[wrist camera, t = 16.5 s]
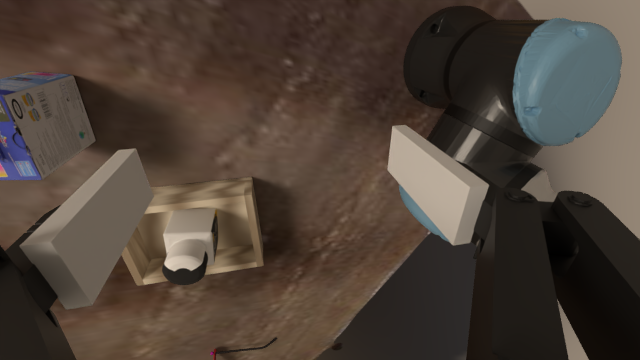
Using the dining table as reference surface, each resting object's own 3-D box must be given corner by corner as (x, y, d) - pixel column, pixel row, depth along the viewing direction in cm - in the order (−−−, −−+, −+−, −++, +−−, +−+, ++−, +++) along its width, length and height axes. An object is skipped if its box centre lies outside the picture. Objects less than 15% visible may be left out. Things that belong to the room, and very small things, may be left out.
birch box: (252, 176, 50) (251, 194, 45) (262, 243, 58) (263, 265, 53) (117, 191, 47) (100, 212, 42) (148, 260, 55) (137, 285, 50)
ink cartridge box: (24, 70, 37) (-93, 97, 24) (73, 72, 38) (-15, 98, 25) (54, 141, 41) (-31, 194, 29) (97, 141, 42) (33, 192, 30)
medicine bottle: (218, 238, 54) (210, 289, 44) (178, 239, 53) (159, 292, 42) (217, 207, 51) (207, 255, 41) (173, 207, 49) (152, 257, 39)
